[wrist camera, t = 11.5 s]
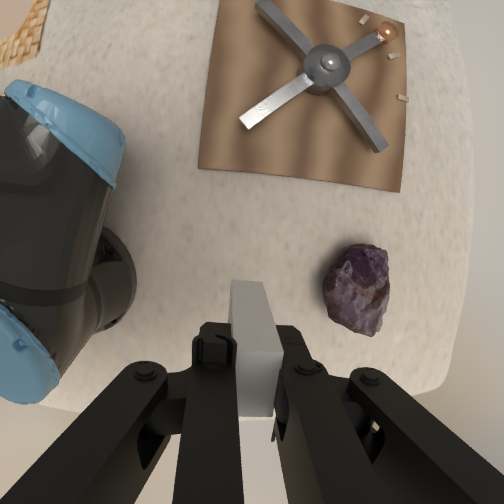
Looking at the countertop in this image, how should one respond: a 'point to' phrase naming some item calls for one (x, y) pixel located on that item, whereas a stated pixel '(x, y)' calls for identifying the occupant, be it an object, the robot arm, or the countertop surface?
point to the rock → (358, 289)
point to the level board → (303, 97)
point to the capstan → (321, 73)
